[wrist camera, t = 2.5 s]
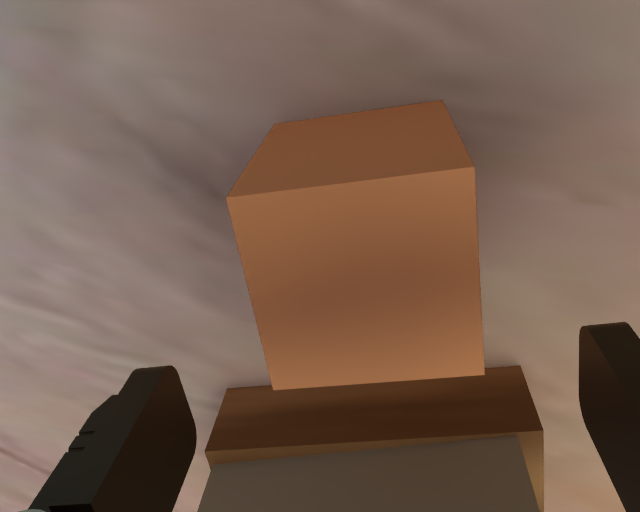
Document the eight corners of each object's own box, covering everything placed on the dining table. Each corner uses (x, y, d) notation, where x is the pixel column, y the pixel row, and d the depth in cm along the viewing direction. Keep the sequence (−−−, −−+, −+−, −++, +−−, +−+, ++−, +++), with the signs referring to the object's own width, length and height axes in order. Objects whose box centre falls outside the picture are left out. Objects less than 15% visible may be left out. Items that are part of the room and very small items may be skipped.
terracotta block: (274, 124, 19) (225, 197, 13) (441, 100, 19) (474, 166, 12) (303, 268, 22) (273, 390, 15) (452, 253, 21) (484, 374, 15)
